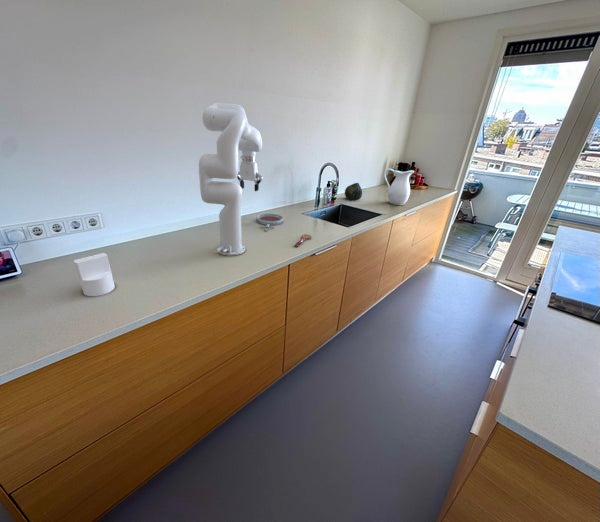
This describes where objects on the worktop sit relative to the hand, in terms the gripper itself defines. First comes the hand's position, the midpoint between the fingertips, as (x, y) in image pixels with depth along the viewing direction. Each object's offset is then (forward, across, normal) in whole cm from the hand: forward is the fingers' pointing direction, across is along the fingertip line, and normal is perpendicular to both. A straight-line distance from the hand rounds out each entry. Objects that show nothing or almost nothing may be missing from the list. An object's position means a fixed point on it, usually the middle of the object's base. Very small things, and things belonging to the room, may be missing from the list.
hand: (249, 189), depth 170 cm
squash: (+20, +43, +98) cm, 109 cm away
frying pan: (+19, +14, 0) cm, 23 cm away
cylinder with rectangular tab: (+18, -2, -94) cm, 96 cm away
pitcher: (+20, +76, +108) cm, 134 cm away
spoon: (+18, +42, -16) cm, 48 cm away
